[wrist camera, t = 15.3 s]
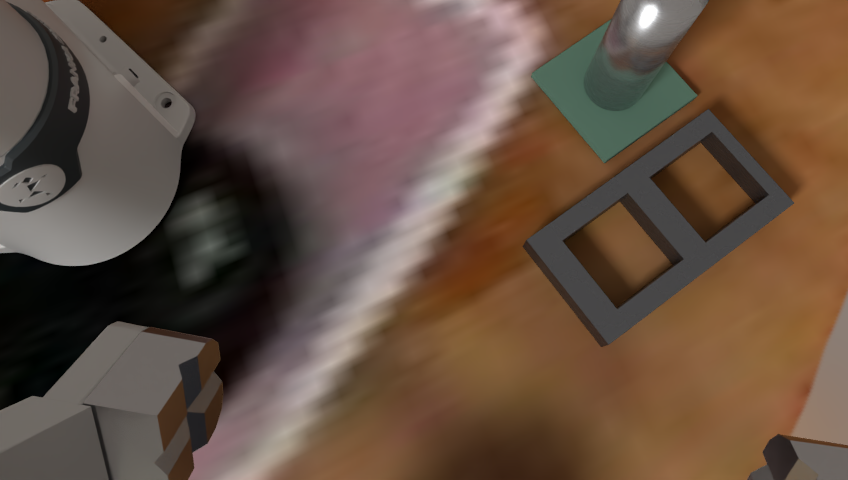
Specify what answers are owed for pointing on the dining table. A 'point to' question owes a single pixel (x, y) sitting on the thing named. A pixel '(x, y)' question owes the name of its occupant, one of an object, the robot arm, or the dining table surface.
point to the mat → (601, 125)
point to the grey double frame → (655, 228)
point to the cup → (637, 49)
